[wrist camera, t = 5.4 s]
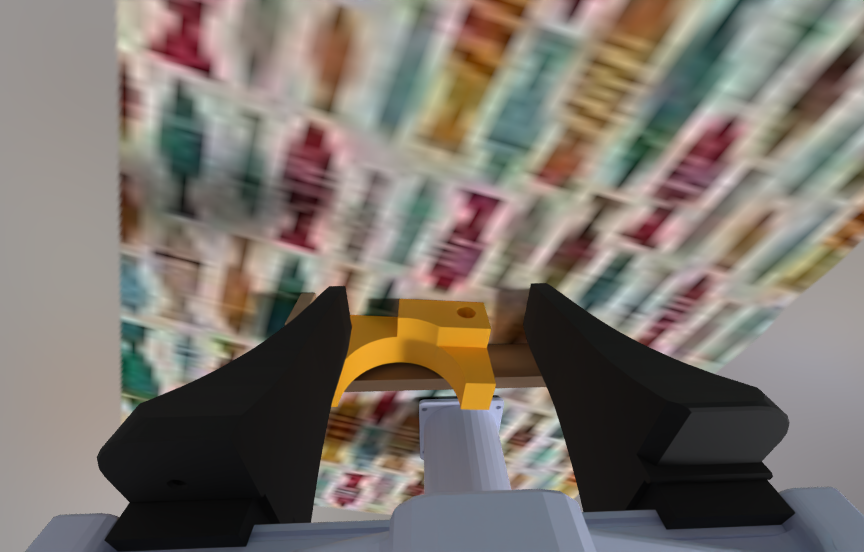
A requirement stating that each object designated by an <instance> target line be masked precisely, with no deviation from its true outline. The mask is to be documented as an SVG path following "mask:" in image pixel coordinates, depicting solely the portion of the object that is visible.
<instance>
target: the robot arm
mask: <svg viewBox="0 0 864 552" xmlns="http://www.w3.org/2000/svg"><path fill="white" fill-rule="evenodd" d="M523 326H524V330H525V334H526V337H527V341H528V344H529V347H530V350H531V352H532V355H533V357H534V359H535V362H536V364H537V366H538V368H539V371H540V373H541V375H542V378H543V380H544V382H545V384H546V387H547V389H548V391H549V393H550V396H551V398H552V401H553V404H554V406H555V409H556V412H557V416H558V419H559V422H560V425H561V428H562V432H563V435H564V439H565V442H566V445H567V449H568V452H569V456H570V460H571V463H572V467H573V471H574V475H575V479H576V482H577V486H578V490H579V495H580V499H581V503H582V507H583V512H581V509H580V507H579V504H578V502H577V501H575V500H574V499H572V498H570V497H569V496H567V495H565V494H564V493H562V492H560V491H554V490H545V489H523V490H511V487H510V482H509V478H508V473H507V469H506V464H505V460H504V456H503V451H502V447H501V442H500V438H499V428H500V423H501V418H502V412H503V407H504V401H503V399H502V398H492V401H491V405H490V408H489V410H465V409H460V404H459V400H458V399H424V400H421V401H420V402H419V424H420V458H421V459H423V460H424V486H425V495H419V496H414V497H412V498H410V499H409V500H407V501H405V502H403V503H401V504H399V505H398V506H397V507H396V508H395V510H394V512H393V514H392V517H391V519H390V520H372V521H371V520H370V521H346V522H318V523H311V518H312V511H313V504H314V497H315V491H316V484H317V478H318V472H319V466H320V460H321V455H322V449H323V444H324V438H325V433H326V428H327V423H328V418H329V413H330V409H331V405H332V401H333V398H334V395H335V391H336V388H337V385H338V382H339V379H340V375H341V372H342V369H343V366H344V362H345V359H346V356H347V352H348V348H349V343H350V336H351V330H352V325H351V319H350V313H349V306H348V300H347V294H346V288H345V286H329V287H328V288H327V289H326V290H325V291H324V292H323V293H321V294H320V295H319V296H318V297H317V298H316V299H315V300H314V301H313V302H312V303H311V304H310V305H309V306H307V307H306V308H305V309H304V310H303V311H302V312H301V313H300V314H299V315H297V316H296V317H295V318H294V319H293V320H291V321H290V322H289V323H288V324H286V325H285V326H284V327H283V328H281V329H280V330H279V331H278V332H276V333H275V334H274V335H272V336H271V337H270V338H268V339H267V340H265V341H264V342H262V343H261V344H259V345H258V346H256V347H255V348H253V349H252V350H250V351H249V352H247V353H245V354H244V355H242V356H240V357H238V358H237V359H235V360H233V361H232V362H230V363H228V364H226V365H225V366H223V367H221V368H219V369H217V370H215V371H213V372H211V373H209V374H207V375H205V376H203V377H201V378H199V379H197V380H195V381H193V382H191V383H188V384H186V385H184V386H182V387H180V388H177V389H175V390H172V391H170V392H168V393H165V394H163V395H160V396H158V397H155V398H153V399H151V400H148V401H146V402H143V403H140V404H139V405H138V406H137V407H136V409H135V410H134V411H133V412H132V413H131V414H130V416H129V417H128V418H127V419H126V420H125V421H124V423H123V424H122V425H121V426H120V427H119V429H118V430H117V431H116V432H115V433H114V434H113V435H112V437H111V438H110V439H109V440H108V441H107V442H106V443H105V445H104V446H103V447H102V448H101V450H100V452H99V454H98V456H97V461H98V466H99V469H100V471H101V472H102V473H103V475H104V476H105V477H106V478H107V480H108V481H110V483H111V484H112V485H113V486H114V487H115V488H116V489H117V490H118V491H119V492H120V493H121V494H122V495H123V496H124V497H125V498H126V499H127V500H128V501H129V502H130V503H129V504H128V506H127V508H126V509H125V510H124V512H123V513H122V515H121V516H120V518H119V517H117V516H115V515H111V514H103V513H97V514H71V515H58V516H56V517H53V518H52V520H51V521H50V522H49V523H48V524H47V526H46V527H45V528H44V529H43V530H42V532H41V533H40V534H39V535H38V537H37V538H36V539H35V540H34V541H33V542H32V544H31V545H30V546H29V547H28V549H27V550H26V551H25V552H864V515H863V514H862V513H861V512H860V511H859V510H858V509H857V508H856V507H854V505H853V504H851V502H849V501H848V499H847V498H845V497H844V496H843V495H842V494H841V493H840V492H839V491H838V490H837V489H836V488H833V487H811V488H810V487H808V488H792V489H787V490H784V491H781V492H779V493H778V492H777V491H776V490H775V489H774V487H773V486H772V485H771V484H770V483H769V482H768V480H770V479H771V478H772V477H773V475H772V472H771V471H770V470H769V469H768V468H767V467H766V466H765V465H764V464H763V462H762V460H763V459H764V458H765V457H766V456H767V455H768V454H769V453H770V452H771V451H772V450H773V448H774V447H776V446H777V444H779V443H780V442H781V440H782V439H783V438H784V436H785V435H786V434H787V430H788V427H789V420H788V416H787V415H786V414H785V413H784V412H783V411H782V410H781V409H780V408H779V407H778V406H777V405H775V404H774V403H773V402H772V401H771V400H770V399H769V398H768V397H767V396H766V395H765V394H764V393H763V392H762V391H761V390H759V389H758V388H757V387H753V386H750V385H747V384H744V383H741V382H738V381H734V380H731V379H728V378H725V377H722V376H719V375H716V374H713V373H710V372H707V371H705V370H702V369H699V368H697V367H694V366H691V365H688V364H686V363H683V362H681V361H679V360H676V359H674V358H671V357H669V356H667V355H665V354H662V353H660V352H658V351H656V350H653V349H651V348H649V347H647V346H645V345H643V344H641V343H639V342H637V341H635V340H633V339H631V338H630V337H628V336H626V335H624V334H622V333H620V332H619V331H617V330H615V329H613V328H612V327H610V326H608V325H607V324H605V323H604V322H602V321H600V320H599V319H597V318H596V317H594V316H593V315H591V314H590V313H588V312H587V311H585V310H584V309H583V308H581V307H580V306H578V305H577V304H575V303H574V302H573V301H571V300H570V299H569V298H567V297H566V296H564V295H563V294H562V293H560V292H559V291H557V290H556V289H555V288H553V287H552V286H550V285H549V284H547V283H535V284H531V287H530V292H529V297H528V302H527V307H526V312H525V317H524V323H523Z"/></svg>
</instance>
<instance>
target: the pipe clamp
mask: <svg viewBox="0 0 864 552" xmlns="http://www.w3.org/2000/svg"><path fill="white" fill-rule="evenodd" d="M350 319H351V325H352V330H351V336H350V343H349V348H348V352H347V356H346V359H345V362H344V366H343V369H342V372H341V375H340V379H339V382H338V385H337V388H336V391H335V395H334V398H333V401H332V405H331V407H337V406H338V403H339V400H340V398H341V396H342V394H343V392H344V391H345V389H346V388H347V387H348V385H349V384H350V383H351V382H352V381H353V380H354V379H355V378H356V377H358V376H359V375H360V374H362V373H364V372H365V371H367V370H369V369H371V368H373V367H376V366H379V365H382V364H387V363H394V362H406V363H413V364H418V365H421V366H424V367H427V368H429V369H431V370H433V371H435V372H436V373H438V374H439V375H441V376H442V377H443V378H444V379H445V380H446V381H447V382H448V383H449V384H450V385H451V387H452V388H453V390H454V391H455V393H456V395H457V398H458V400H459V404H460V409H465V410H489V408H490V405H491V401H492V397H493V393H494V390H495V386H496V382H495V378H494V374H493V370H492V366H491V362H490V358H489V354H488V350H487V345H488V341H489V336H490V332H491V327H490V323H489V320H488V316H487V313H486V310H485V306H484V303H481V302H459V301H437V300H416V299H399V311H398V317H387V316H363V315H350Z"/></svg>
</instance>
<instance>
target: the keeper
mask: <svg viewBox="0 0 864 552" xmlns="http://www.w3.org/2000/svg"><path fill="white" fill-rule="evenodd" d="M315 299H316V295H315V293H301V295H300V297H299V299H298V300H297V302H296V304H295V306H294V308H293V310H292V312H291V313H290V315H289V317H288V319H287V321H286V323H285V325H286V324H288V323H289V322H290V321H291V320H293V319H294V318H295V317H296V316H297V315H299V314H300V313H301V312H302V311H303V310H304V309H305V308H306V307H307V306H309V305H310V304H311V303H312V302H313V301H314V300H315ZM487 350H488V354H489V358H490V362H491V366H492V370H493V374H494V378H495V382H496V386H495V388H525V387H546V384H545V382H544V380H543V378H542V375H541V373H540V371H539V368H538V366H537V364H536V362H535V359H534V357H533V355H532V352H531V350H530V347H529V344H498V345H487ZM444 389H453V388H452V387H451V385H450V384H449V383H448V382H447V381H446V380H445V379H444V378H443V377H442V376H441V375H439V374H438V373H436V372H435V371H433V370H431V369H429V368H427V367H424V366H421V365H418V364H413V363H406V362H394V363H387V364H382V365H379V366H376V367H373V368H371V369H369V370H367V371H365V372H364V373H362V374H360V375H359V376H358V377H356V378H355V379H354V380H353V381H352V382H351V383H350V384H349V385H348V387H347V388H346V389H345V391H344V392H364V391H404V390H444Z"/></svg>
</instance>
